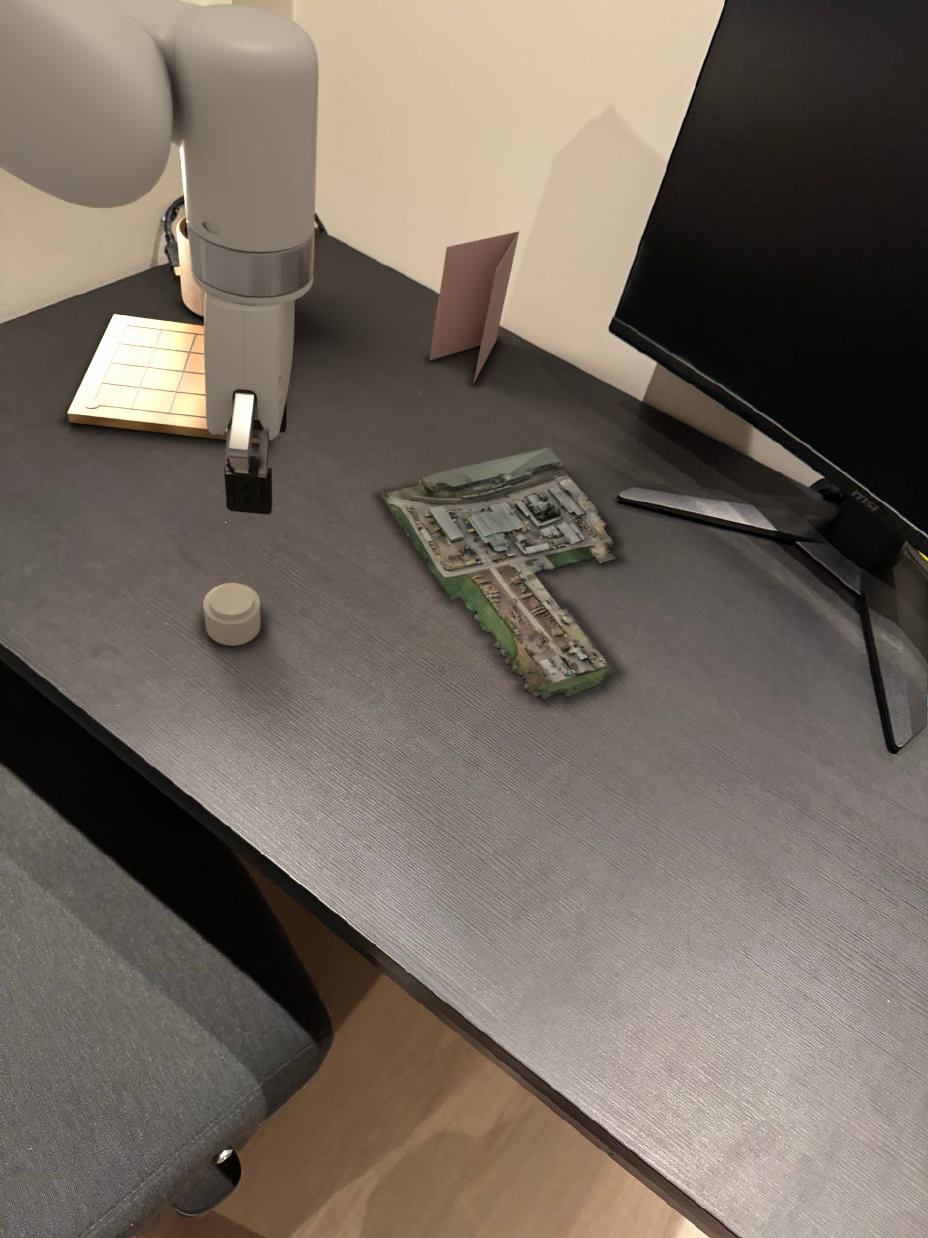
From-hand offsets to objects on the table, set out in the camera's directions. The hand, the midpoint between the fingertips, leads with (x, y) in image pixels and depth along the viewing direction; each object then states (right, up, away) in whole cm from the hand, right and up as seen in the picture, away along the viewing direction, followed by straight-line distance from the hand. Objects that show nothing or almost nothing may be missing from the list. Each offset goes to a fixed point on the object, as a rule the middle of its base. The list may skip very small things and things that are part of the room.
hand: (258, 467), depth 65 cm
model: (+23, -7, +22) cm, 33 cm away
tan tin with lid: (-5, -12, +11) cm, 17 cm away
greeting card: (+18, +22, +46) cm, 54 cm away
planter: (-15, +29, +45) cm, 56 cm away
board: (-17, +16, +33) cm, 40 cm away
